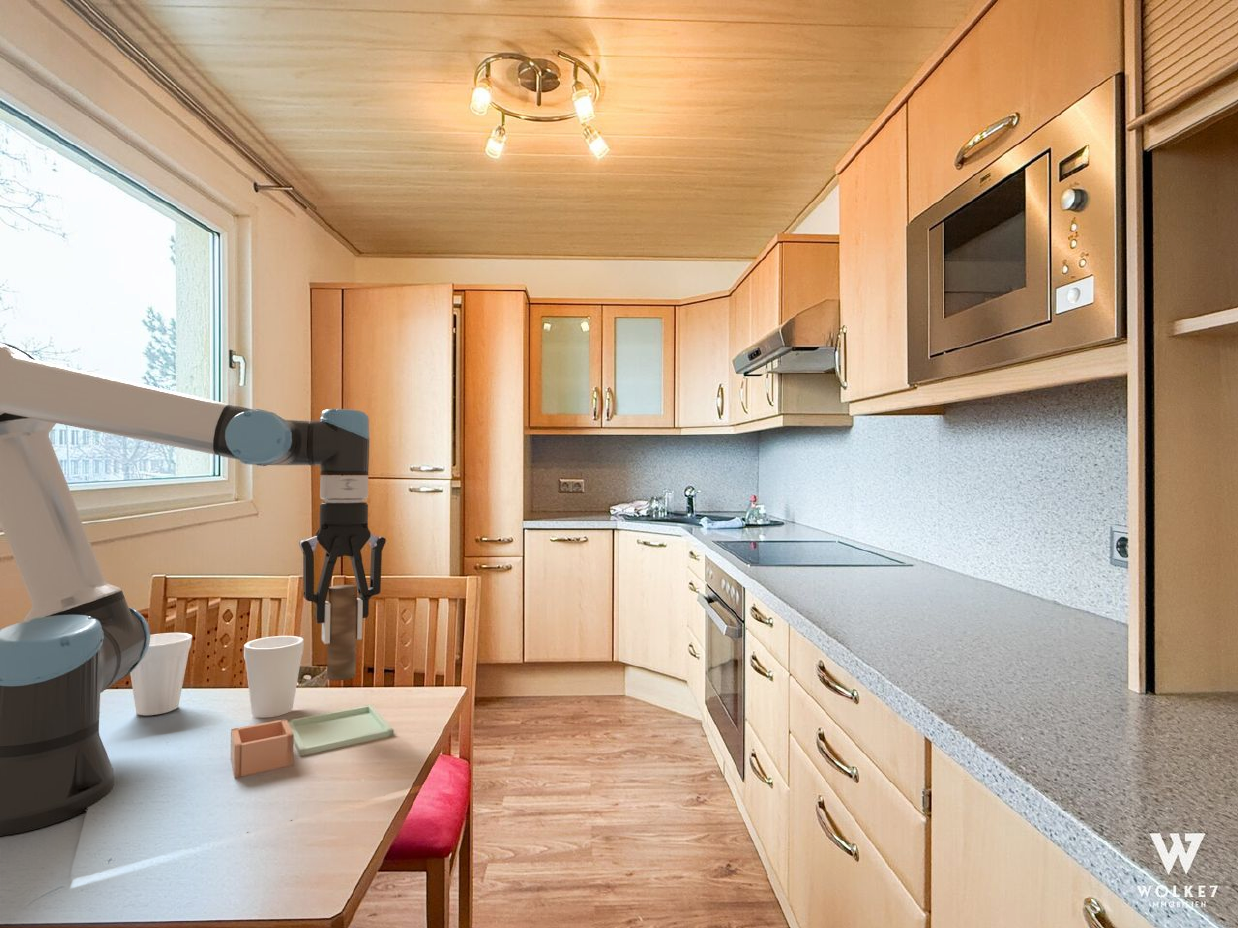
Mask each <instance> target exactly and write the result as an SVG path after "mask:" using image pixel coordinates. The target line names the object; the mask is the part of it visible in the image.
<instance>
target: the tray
mask: <svg viewBox="0 0 1238 928" xmlns="http://www.w3.org/2000/svg"><path fill="white" fill-rule="evenodd" d="M287 722H288V724H289V726H290V728H291V730H292V732H293V734H294V741H293V746H294V747H295V749H296V751H297V754H298V756H299V757H303V756H308V755H312V754H317V753H321V752H325V751H330V750H335V749H339V748H344V747H348V746H352V745H358V744H361V743H366V742H371V741H375V740H381V739H384V738H389V737H393V736H394V730H395V729H394V728H392V726H391V725H390V724H389V723H388V721H387V720H386V719H385V718H384V717H383V716H382V715H381V714H380V713H379V711H378V710H377V709H376V708H375V706H374V705H373V704H368V705H362V706H356V707H353V708H346V709H340V710H336V711H331V712H326V713H319V714H314V715H309V716H304V717H299V718H298V717H297V718H291V719H288V720H287Z"/></svg>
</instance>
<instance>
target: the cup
mask: <svg viewBox="0 0 1238 928" xmlns="http://www.w3.org/2000/svg"><path fill="white" fill-rule="evenodd" d="M192 640H193V635H192V634H190V633H187V632H164V633H155V634H150V643H149V647H148V650H147V652H146V654H145V656H144V657H143V659H142V660H141V661H140V662H139V664H138V665H137V666H136V667H135V669H134V670H133V671H132V672H131V673H130V674H129V675H130V679H131V687H132V694H133V700H134V701H133V702H134V706H135V714H137V715H139V716H153V715H155V716H156V715H161V714H165V713H169V712H171V711H175V710H176V709H177V708H179V706H180V705H179V704H180V700H181V693H182V689H183V684H184V678H185V673H186V669H187V668H186V667H187V664H188V663H187V662H188V657H189V652H190V649H191V647H192Z"/></svg>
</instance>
